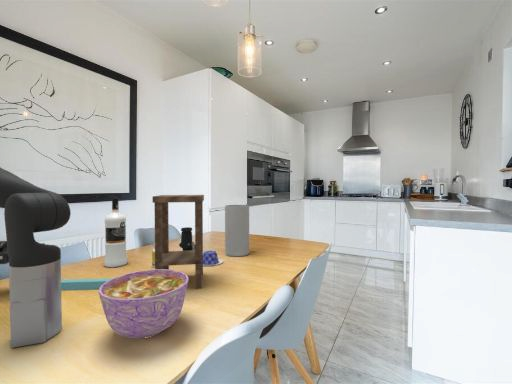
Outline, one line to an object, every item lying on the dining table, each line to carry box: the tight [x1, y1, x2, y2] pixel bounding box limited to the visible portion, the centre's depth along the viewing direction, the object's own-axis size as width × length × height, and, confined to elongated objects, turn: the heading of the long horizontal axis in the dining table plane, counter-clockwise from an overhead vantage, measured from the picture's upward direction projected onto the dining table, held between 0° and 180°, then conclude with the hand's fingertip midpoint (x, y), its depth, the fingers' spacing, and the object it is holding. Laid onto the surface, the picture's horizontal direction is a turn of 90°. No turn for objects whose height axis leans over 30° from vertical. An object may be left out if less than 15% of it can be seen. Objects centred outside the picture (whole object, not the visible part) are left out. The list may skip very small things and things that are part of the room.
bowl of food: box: [98, 269, 190, 339], centre depth 64 cm, size 20×20×12 cm
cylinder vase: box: [224, 204, 250, 258], centre depth 135 cm, size 12×12×25 cm
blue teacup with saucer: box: [203, 250, 224, 267], centre depth 120 cm, size 12×12×5 cm
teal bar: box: [61, 277, 114, 291], centre depth 90 cm, size 24×3×3 cm, turn 94°
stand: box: [152, 194, 205, 290], centre depth 95 cm, size 16×16×32 cm
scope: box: [178, 226, 195, 251], centre depth 132 cm, size 8×14×10 cm
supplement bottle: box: [151, 243, 155, 268], centre depth 115 cm, size 5×5×10 cm
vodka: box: [103, 197, 128, 268], centre depth 116 cm, size 9×9×30 cm
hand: (47, 251), depth 88 cm, fingers open, 8 cm apart
